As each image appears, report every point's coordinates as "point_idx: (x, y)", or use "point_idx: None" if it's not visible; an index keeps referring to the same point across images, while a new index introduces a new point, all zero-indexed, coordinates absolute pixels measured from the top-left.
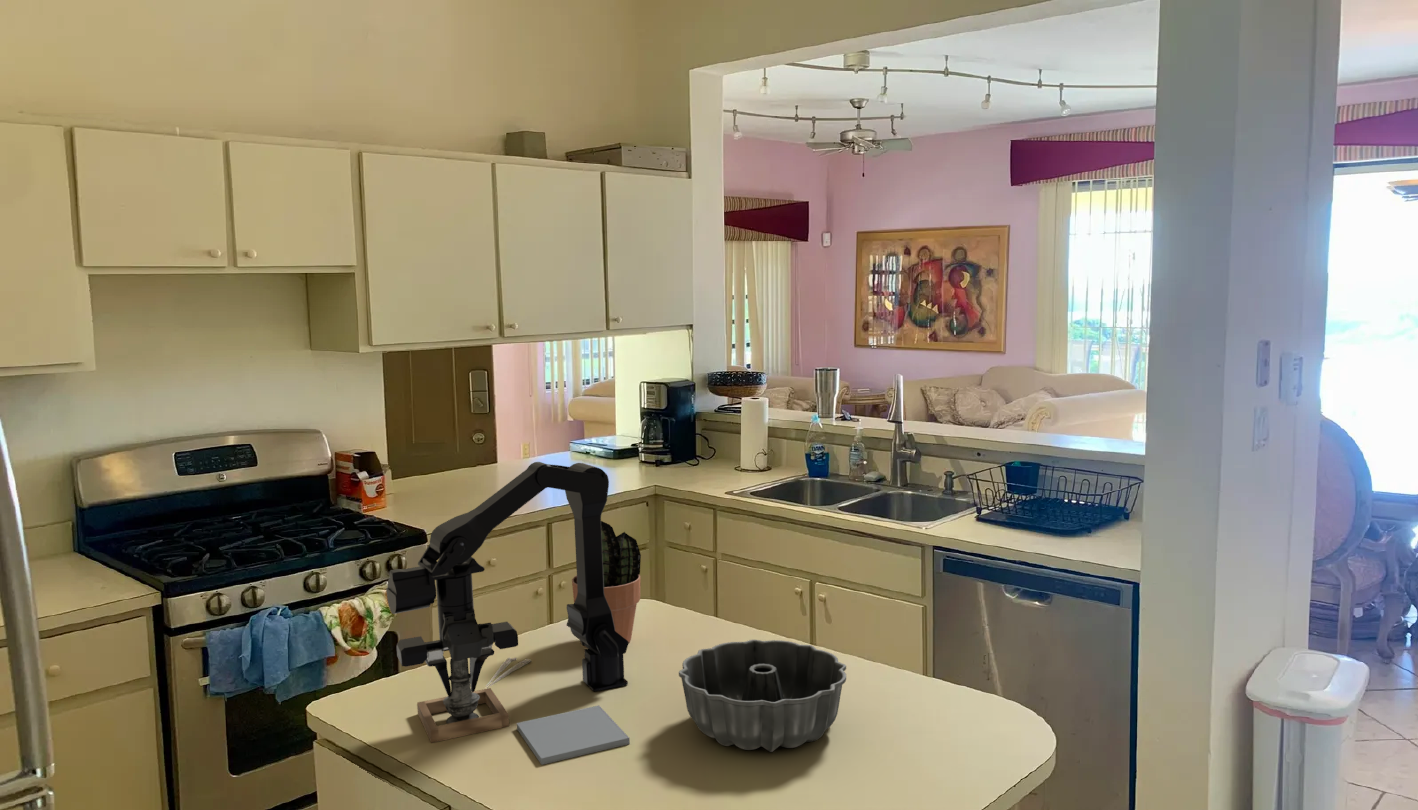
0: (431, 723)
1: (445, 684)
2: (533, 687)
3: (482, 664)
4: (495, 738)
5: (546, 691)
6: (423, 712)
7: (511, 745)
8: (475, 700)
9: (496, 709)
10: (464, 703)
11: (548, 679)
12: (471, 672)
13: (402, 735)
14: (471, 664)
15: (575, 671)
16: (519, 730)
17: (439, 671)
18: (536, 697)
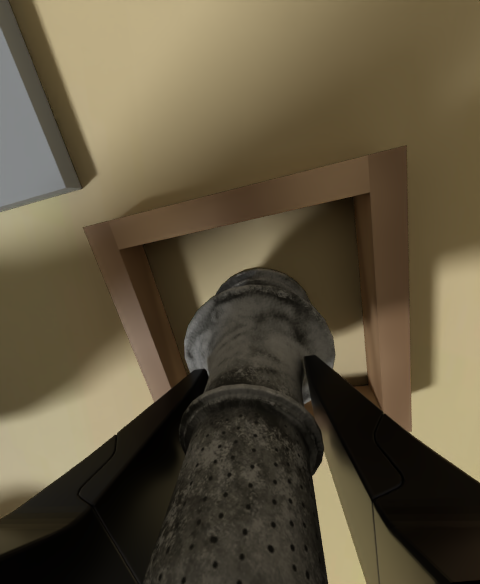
0: (389, 231)
1: (348, 389)
2: (86, 442)
3: (45, 491)
4: (144, 127)
5: (50, 411)
6: (403, 346)
7: (76, 33)
8: (197, 319)
9: (137, 292)
10: (243, 301)
11: (60, 467)
12: (175, 464)
13: (474, 261)
14: (156, 533)
15: (9, 481)
16: (60, 150)
17: (472, 488)
18: (68, 388)
